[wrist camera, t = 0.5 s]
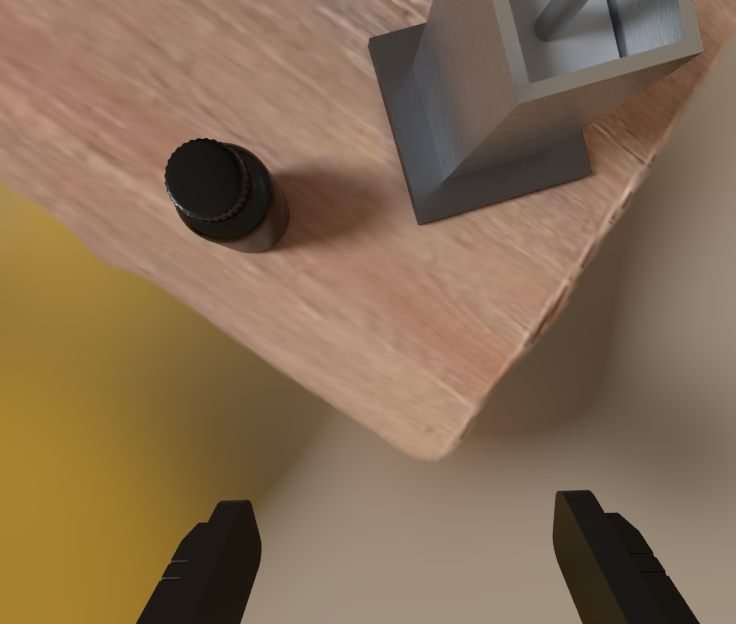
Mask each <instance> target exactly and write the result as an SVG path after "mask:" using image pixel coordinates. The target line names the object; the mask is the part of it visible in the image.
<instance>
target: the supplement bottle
mask: <svg viewBox="0 0 736 624" xmlns="http://www.w3.org/2000/svg"><path fill="white" fill-rule="evenodd" d="M165 170H166V173H165V179H166V181H165V185H166V187H167V192H168V193H169V194H170V199H171V200H172V201H174V204H175V207H176V210H177V212H178V214H179V216H180V218H181V219H182V221H183V222H184V223H185V225H186V226H187V227H188V228H189V229H190V230H191V231H193V232H194V233H195V234H197V235H198V236H200V237H202V238H204V239H206V240H208V241H211V242H213V243H216V244H219V245H222V246H225V247H227V248H230V249H233V250H236V251H240V252H244V253H258V252H262V251H265V250H268V249H269V248H271V247H273V246H274V245H275V244H277V243H278V242H279V241H280V239H281V238H282V237H283V235H284V234H285V232H286V229H287V227H288V223H289V207H288V203H287V200H286V198H285V196H284V194H283V192H282V191H281V189H280V187H279V186H278V184H277V183H276V181H275V180H274V178H273V177H272V175H271V174H270V172H269V171H268V169H267V168H266V166H265V165H264V164H263V162H262V161H261V160H260V159H259V158H258V157H257V156H256V155H255V154H253V153H252V152H250V151H249V150H247V149H245V148H243V147H241V146H238V145H235V144H231V143H222V142H217V141H216V140H215V139H212V140H210V139H208V138H205V139H200V138H198V139H196V140H190V141H189V142H188V143H183V144H182V146H181V147H178V148H177V149H176V151H175V152H174V153H172V155H171V158H170V159H169V160H168V165H167V166H166V168H165Z"/></svg>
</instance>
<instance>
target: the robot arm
mask: <svg viewBox="0 0 736 624" xmlns="http://www.w3.org/2000/svg"><path fill="white" fill-rule="evenodd" d="M553 545H554V550H555V555H556V558H557V561H558V564H559V566H560V569H561V571H562V574H563V577H564V579H565V581H566V584H567V586H568V589H569V591H570V593H571V596H572V599H573V601H574V604H575V606H576V608H577V611H578V614H579V616H580V619H581V621H582V623H583V624H700V623H699V622H698V620H697V619H696V617H695V616H694V614H693V613H692V611H691V610H690V608H689V606H688V605H687V603H686V602H685V600H684V599H683V597H682V596H681V594H680V593H679V591H678V590H677V588H676V587H675V585H674V584H673V582H672V580H671V579H670V577H669V576H667V575H666V573H665V570H664V568H663V567H662V565H661V564H660V562H659V561H658V559H657V558H656V557H654V555H653V551H652V550H651V548H650V547H649V546H648V544H647V542H646V541H645V539H644V538H643V536H642V535H641V533H640V532H639V531H638V530H637V529H636V528H635V527H634V526H633V525H631V524H630V523H629V522H628V521H627V520H626V519H625V518H623V517H622V516H621V515H620V514H619V513H604V511H603V509H602V508H601V506H600V504H599V502H598V501H597V499H596V497H595V496H594V495H593V493H592V492H591V491H589V490H577V491H576V490H574V491H557V493H556V499H555V511H554V523H553ZM260 560H261V539H260V535H259V531H258V528H257V523H256V520H255V515H254V512H253V508H252V504H251V502H250V501H249V500H227V501H220V502H219V503H218V504H217V506H216V507H215V510H214V511H213V513H212V515H211V517H210V519H209V521H208V522H207V523H198V524H197V525H196V526H195V527H194V528H193V529H192V531H190V532H189V533H188V535H187V536H186V537H185V538H184V539H183V540H182V541H181V543H180V545H179V547H178V548H177V550H176V552H175V554H174V556H173V557H172V559H171V564H169V565H168V567H167V569H166V570H165V572H164V574H163V576H162V580H161V581H159V583H158V585H157V586H156V588H155V590H154V592H153V594H152V596H151V597H150V599H149V601H148V603H147V605H146V606H145V608H144V610H143V612H142V614H141V616H140V618H139V619H138V621H137V623H136V624H240V623H241V620H242V617H243V614H244V611H245V607H246V605H247V602H248V599H249V596H250V593H251V590H252V586H253V583H254V580H255V577H256V574H257V571H258V568H259V565H260Z"/></svg>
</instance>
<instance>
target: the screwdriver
mask: <svg viewBox="0 0 736 624" xmlns="http://www.w3.org/2000/svg"><path fill="white" fill-rule="evenodd" d="M509 2H510V6H511V10H512V14H513V19H514V23H515V27H516V31H517V35H518V39H519V43H520V47H521V51H522V55H523V59H524V63H525V67H526V71H527V75H528V79H529V83H534V82H537V81H541V80H544V79H548V78H552V77H555V76H559V75H562V74H566V73H569V72H573V71H576V70H580V69H583V68H587V67H591V66H594V65H598V64H601V63H605V62H608V61H612V60H615V59H619V58H620V57H619V53H618V48H617V44H616V40H615V35H614V31H613V26H612V22H611V18H610V13H609V9H608V5H607V0H509Z"/></svg>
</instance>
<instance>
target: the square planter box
mask: <svg viewBox="0 0 736 624" xmlns="http://www.w3.org/2000/svg"><path fill="white" fill-rule="evenodd" d="M607 5H608V9H609V13H610V18H611V22H612V26H613V31H614V35H615V40H616V44H617V48H618V53H619V57H620V58H619V59H615V60H612V61H608V62H605V63H601V64H598V65H594V66H591V67H587V68H583V69H580V70H576V71H573V72H569V73H566V74H562V75H559V76H555V77H552V78H548V79H544V80H541V81H537V82H534V83H529V79H528V75H527V71H526V67H525V63H524V59H523V55H522V51H521V47H520V43H519V39H518V35H517V31H516V27H515V23H514V19H513V14H512V10H511V6H510V2H509V0H433V2H432V6H431V9H430V12H429V15H428V18H427V21H426V23H423V24H420V25H416V26H413V27H409V28H405V29H402V30H398V31H394V32H391V33H387V34H383V35H380V36H376V37H372V38H369V44H368V47H369V51H370V55H371V58H372V62H373V65H374V69H375V73H376V76H377V80H378V83H379V87H380V90H381V94H382V98H383V101H384V105H385V108H386V112H387V115H388V119H389V123H390V126H391V130H392V133H393V137H394V140H395V144H396V148H397V151H398V155H399V158H400V162H401V166H402V169H403V173H404V176H405V180H406V183H407V187H408V191H409V194H410V198H411V201H412V205H413V208H414V212H415V216H416V219H417V223H418V225H421V224H425V223H428V222H432V221H435V220H438V219H442V218H445V217H449V216H452V215H456V214H459V213H462V212H466V211H469V210H473V209H476V208H480V207H483V206H486V205H490V204H493V203H497V202H500V201H503V200H507V199H510V198H514V197H517V196H521V195H524V194H527V193H531V192H534V191H538V190H541V189H545V188H548V187H551V186H555V185H558V184H562V183H565V182H568V181H572V180H575V179H579V178H582V177H585V176H587V175H590V174H592V170H591V166H590V162H589V158H588V154H587V150H586V145H585V141H584V137H583V133H582V130H583V129H584V128H586V127H587V126H589V125H591V124H592V123H594V122H595V121H597V120H598V119H600V118H601V117H603V116H604V115H606V114H608V113H609V112H611V111H612V110H614V109H615V108H617V107H618V106H620V105H622V104H623V103H625V102H626V101H628V100H629V99H631V98H632V97H634V96H636V95H637V94H639V93H640V92H642V91H643V90H645V89H646V88H648V87H650V86H651V85H653V84H654V83H656V82H657V81H659V80H660V79H662V78H664V77H665V76H667V75H668V74H670V73H671V72H673V71H674V70H676V69H677V68H679V67H681V66H682V65H684V64H685V63H687V62H688V61H690V60H691V59H693V58H695V57H696V56H698V55H699V54H701V53H702V52H704V48H703V44H702V39H701V34H700V29H699V25H698V20H697V15H696V10H695V6H694V1H693V0H607Z"/></svg>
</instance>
